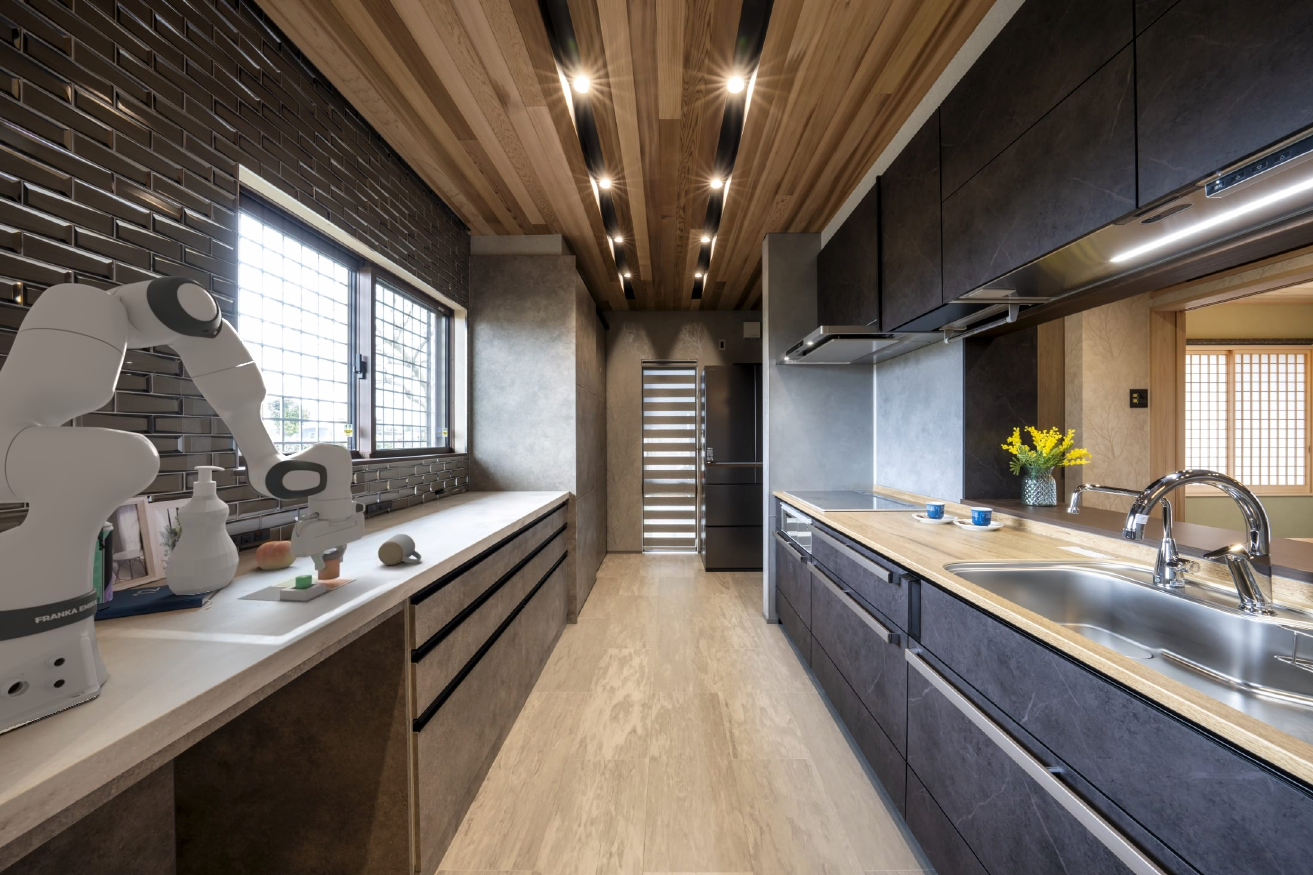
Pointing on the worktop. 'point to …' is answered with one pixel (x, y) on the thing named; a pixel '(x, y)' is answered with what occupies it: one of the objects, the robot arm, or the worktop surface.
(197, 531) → the soap bottle
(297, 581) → the button
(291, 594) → the colouring board
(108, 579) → the spray can
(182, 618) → the worktop surface
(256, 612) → the worktop surface
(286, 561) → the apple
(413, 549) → the ceramic mug
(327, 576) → the orange jar
